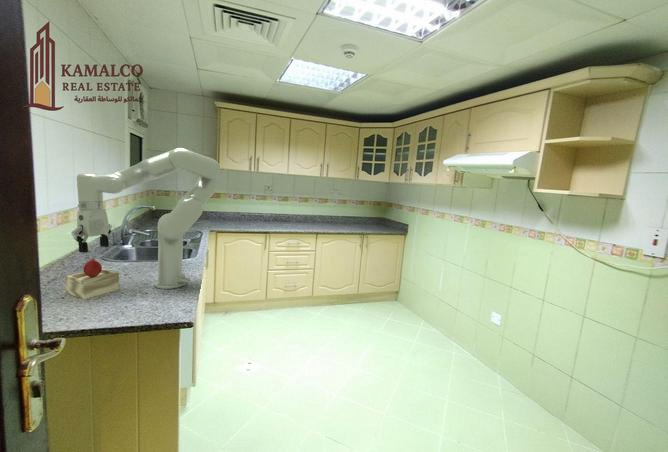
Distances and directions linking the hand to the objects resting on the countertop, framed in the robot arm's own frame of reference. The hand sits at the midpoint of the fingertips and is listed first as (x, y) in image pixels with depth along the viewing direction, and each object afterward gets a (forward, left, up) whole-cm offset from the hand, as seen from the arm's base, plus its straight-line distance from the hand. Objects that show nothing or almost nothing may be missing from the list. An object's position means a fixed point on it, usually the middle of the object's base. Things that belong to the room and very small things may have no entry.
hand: (94, 249), depth 123 cm
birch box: (+1, 0, -18) cm, 18 cm away
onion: (+1, 0, -12) cm, 12 cm away
